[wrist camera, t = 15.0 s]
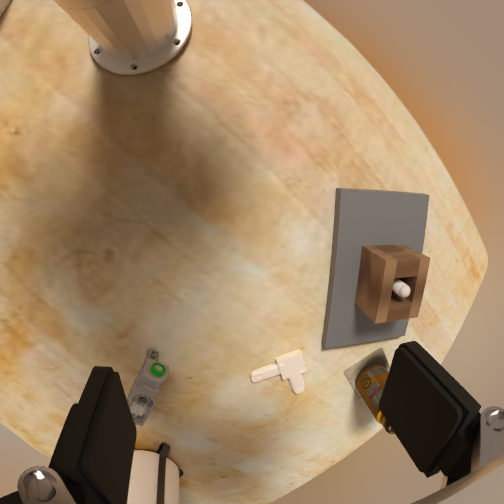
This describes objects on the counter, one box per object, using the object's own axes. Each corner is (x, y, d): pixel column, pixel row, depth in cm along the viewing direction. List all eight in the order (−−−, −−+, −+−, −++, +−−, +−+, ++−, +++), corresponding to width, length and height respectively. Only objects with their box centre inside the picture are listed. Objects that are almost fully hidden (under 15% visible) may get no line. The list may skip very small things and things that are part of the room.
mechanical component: (176, 330, 39) (171, 378, 30) (150, 381, 41) (141, 430, 32) (156, 321, 39) (145, 367, 29) (131, 373, 40) (119, 421, 31)
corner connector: (261, 400, 46) (263, 406, 44) (246, 365, 43) (247, 372, 41) (309, 383, 46) (312, 389, 44) (298, 347, 43) (301, 353, 42)
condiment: (358, 397, 48) (387, 444, 37) (343, 371, 46) (374, 421, 34) (392, 375, 48) (426, 417, 37) (381, 346, 45) (419, 391, 34)
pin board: (336, 188, 37) (368, 196, 29) (422, 193, 39) (461, 203, 31) (321, 343, 43) (342, 377, 35) (399, 331, 45) (427, 358, 37)
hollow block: (362, 245, 38) (385, 260, 32) (403, 244, 39) (430, 258, 33) (354, 302, 40) (374, 323, 35) (394, 298, 41) (417, 316, 35)
